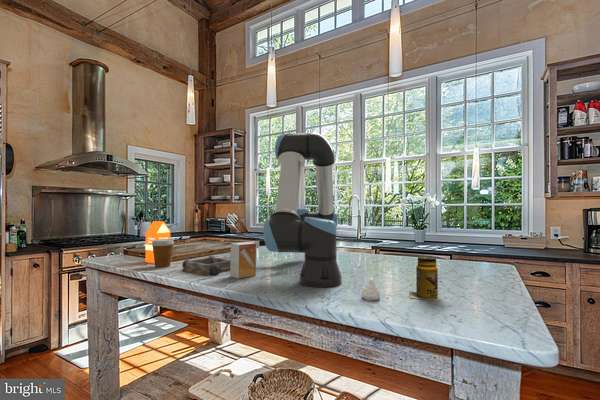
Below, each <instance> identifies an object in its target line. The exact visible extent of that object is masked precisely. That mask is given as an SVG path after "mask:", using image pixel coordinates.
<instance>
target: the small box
mask: <svg viewBox="0 0 600 400" xmlns="http://www.w3.org/2000/svg"><path fill="white" fill-rule="evenodd" d="M251 242H252V241H243V242H241V241H240V242H234V243H233V242H232V243H230V260H231V261H230V271H229V272H230V277H231V278H234V279H240V280H241V279H244V278H251V277H256V276H257V275H256V273H257V272H256V271H257V267H256V266H257V247H256V243H251Z"/></svg>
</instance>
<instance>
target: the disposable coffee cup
mask: <svg viewBox="0 0 600 400" xmlns="http://www.w3.org/2000/svg"><path fill="white" fill-rule="evenodd" d="M151 244H152V246H153V254H154V262H155V263H154V267H155V268H157V269H164V268H169V267H170V266H171V261H172V256H173V255H172V254H173V247H174V244H175V242H174V239H172V238H170V239H159V240H153V241H152V243H151Z"/></svg>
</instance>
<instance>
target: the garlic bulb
mask: <svg viewBox="0 0 600 400" xmlns="http://www.w3.org/2000/svg"><path fill="white" fill-rule="evenodd" d="M380 292H381V291H380V289H379V287H378V286H377V284H376V282H375V280H374V279H373V277H369V278H368V281H367V282H366V283H365V285H364V286H363V288H362V289H361V296H362V298H363V299H364V300H366V301H378V300H380V299H381V293H380Z"/></svg>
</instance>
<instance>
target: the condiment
mask: <svg viewBox="0 0 600 400" xmlns="http://www.w3.org/2000/svg"><path fill="white" fill-rule="evenodd" d="M415 269H416V270H415V271H416V274H415V275H416V278H415V279H416V284H415V285H416V287H415V288H416V289H415V290H416V291H413V290H411V291H410V290H408V295H409V296H408V297H409V299H415V300H416V299H418V300H423V301H424V300H425V301H436V302H437V301H438V302H440V301H441V299H440V297H439V290H438V289H439V282H438V280H439V279H438V278H439V277H438V274H439V273H438V267H437V258H435V257H432V256H418V257H417V265H416V267H415Z"/></svg>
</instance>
